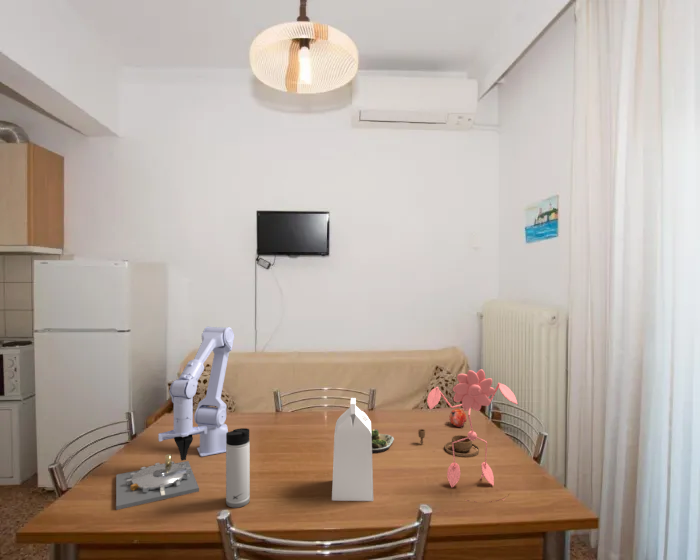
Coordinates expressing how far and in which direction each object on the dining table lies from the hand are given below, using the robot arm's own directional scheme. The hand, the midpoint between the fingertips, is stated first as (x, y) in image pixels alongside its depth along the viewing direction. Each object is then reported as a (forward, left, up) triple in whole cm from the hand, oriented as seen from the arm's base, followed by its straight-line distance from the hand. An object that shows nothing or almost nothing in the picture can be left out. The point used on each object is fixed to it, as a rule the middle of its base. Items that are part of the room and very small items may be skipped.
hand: (183, 459), depth 139 cm
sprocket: (+7, +6, -2) cm, 9 cm away
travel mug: (-11, +29, -4) cm, 31 cm away
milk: (-42, +38, -4) cm, 56 cm away
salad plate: (-64, +10, -4) cm, 64 cm away
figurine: (-73, +54, -4) cm, 91 cm away
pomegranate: (-107, +11, -4) cm, 107 cm away
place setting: (-89, +27, -4) cm, 93 cm away
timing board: (+8, +7, -3) cm, 11 cm away
